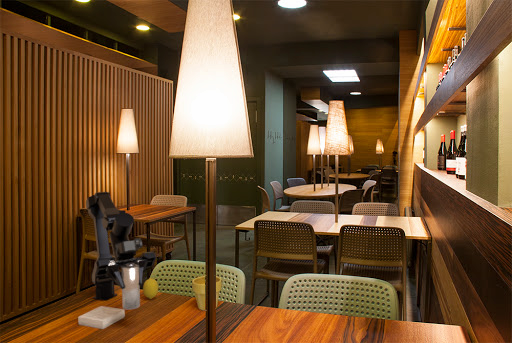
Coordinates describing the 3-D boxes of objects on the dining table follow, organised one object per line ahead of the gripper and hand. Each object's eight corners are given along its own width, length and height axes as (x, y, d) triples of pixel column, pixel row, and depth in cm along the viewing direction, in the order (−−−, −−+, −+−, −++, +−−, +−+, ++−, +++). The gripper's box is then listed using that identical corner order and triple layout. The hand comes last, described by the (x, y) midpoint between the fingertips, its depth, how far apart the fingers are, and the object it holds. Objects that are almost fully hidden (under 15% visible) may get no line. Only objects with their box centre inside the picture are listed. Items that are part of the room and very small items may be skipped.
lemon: (140, 300, 150) (139, 279, 150) (150, 295, 155) (149, 275, 155) (151, 302, 148) (150, 281, 148) (161, 298, 153) (161, 277, 152)
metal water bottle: (130, 302, 130) (129, 260, 129) (143, 304, 128) (142, 262, 127) (118, 308, 125) (117, 265, 124) (132, 310, 123) (131, 266, 122)
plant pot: (186, 310, 140) (185, 282, 140) (203, 300, 150) (203, 274, 149) (211, 314, 136) (211, 286, 135) (227, 304, 145) (227, 277, 144)
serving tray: (101, 313, 139) (101, 305, 139) (124, 316, 135) (124, 309, 135) (78, 324, 130) (78, 316, 129) (103, 329, 126) (102, 321, 126)
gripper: (94, 234, 123) (104, 278, 115) (154, 227, 134) (167, 267, 125) (89, 254, 130) (99, 298, 122) (146, 246, 141) (158, 286, 132)
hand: (132, 286), depth 125 cm, fingers closed on metal water bottle, 5 cm apart
